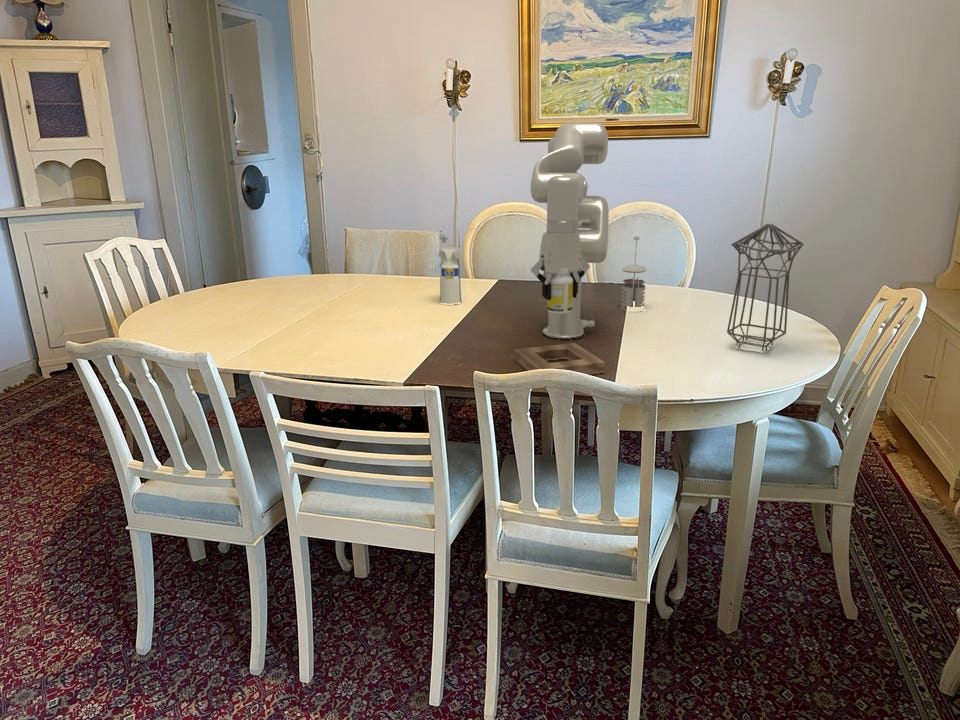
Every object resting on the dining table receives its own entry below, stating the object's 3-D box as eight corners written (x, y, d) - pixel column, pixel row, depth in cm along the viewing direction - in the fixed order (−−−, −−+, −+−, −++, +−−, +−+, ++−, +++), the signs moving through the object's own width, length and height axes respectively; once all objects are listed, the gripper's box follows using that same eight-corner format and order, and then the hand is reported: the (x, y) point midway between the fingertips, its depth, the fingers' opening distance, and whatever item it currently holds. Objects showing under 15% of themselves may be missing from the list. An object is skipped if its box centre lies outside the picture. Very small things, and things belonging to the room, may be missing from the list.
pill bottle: (570, 307, 188) (571, 263, 184) (574, 314, 182) (575, 268, 178) (545, 308, 188) (546, 264, 184) (548, 314, 182) (549, 269, 178)
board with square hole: (574, 353, 200) (574, 342, 199) (604, 373, 184) (604, 362, 183) (513, 360, 195) (513, 349, 194) (539, 381, 179) (539, 370, 178)
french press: (645, 305, 251) (649, 233, 244) (649, 314, 240) (654, 239, 233) (616, 305, 252) (620, 233, 244) (619, 313, 241) (623, 238, 233)
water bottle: (462, 305, 253) (461, 234, 245) (438, 305, 253) (436, 234, 245) (463, 300, 261) (462, 230, 253) (440, 300, 261) (438, 231, 253)
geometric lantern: (737, 337, 214) (750, 218, 203) (792, 347, 204) (809, 223, 193) (716, 349, 202) (729, 224, 191) (773, 360, 193) (790, 229, 182)
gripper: (586, 223, 184) (584, 292, 190) (523, 227, 179) (522, 297, 184) (600, 227, 177) (597, 298, 183) (535, 231, 172) (533, 303, 178)
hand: (559, 297), depth 184 cm, fingers closed on pill bottle, 6 cm apart
